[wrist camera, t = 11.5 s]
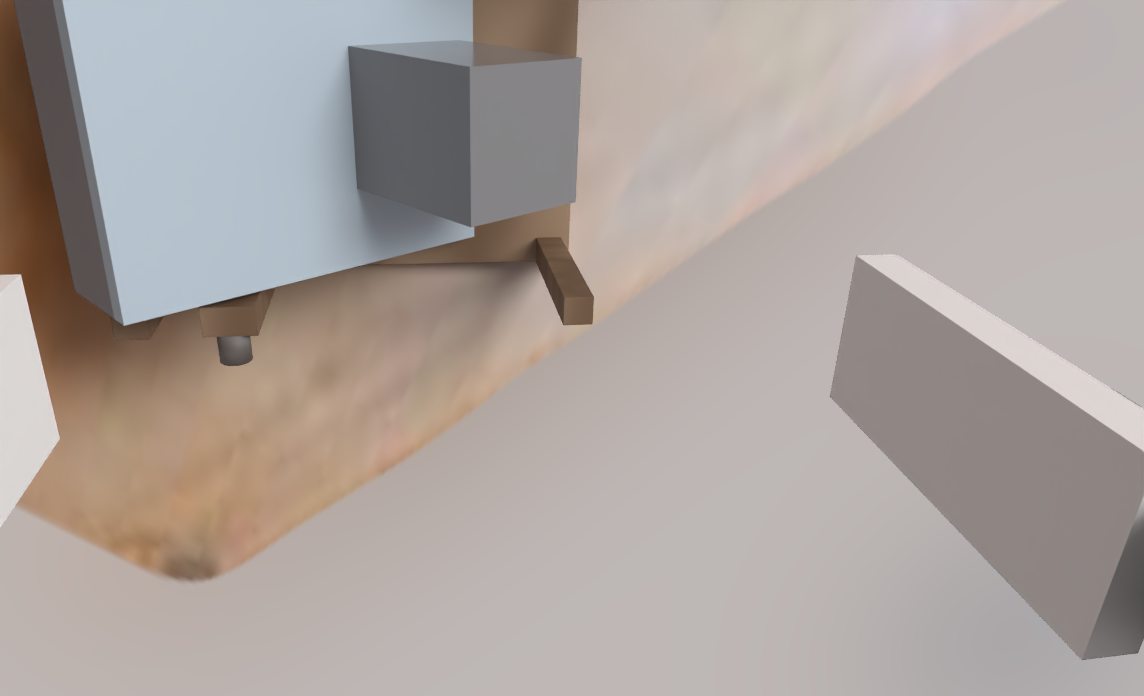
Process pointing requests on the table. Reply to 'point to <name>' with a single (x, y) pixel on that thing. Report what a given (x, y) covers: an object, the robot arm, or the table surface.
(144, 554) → the table surface
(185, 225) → the trapdoor
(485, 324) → the table surface
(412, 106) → the block
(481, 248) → the frame
